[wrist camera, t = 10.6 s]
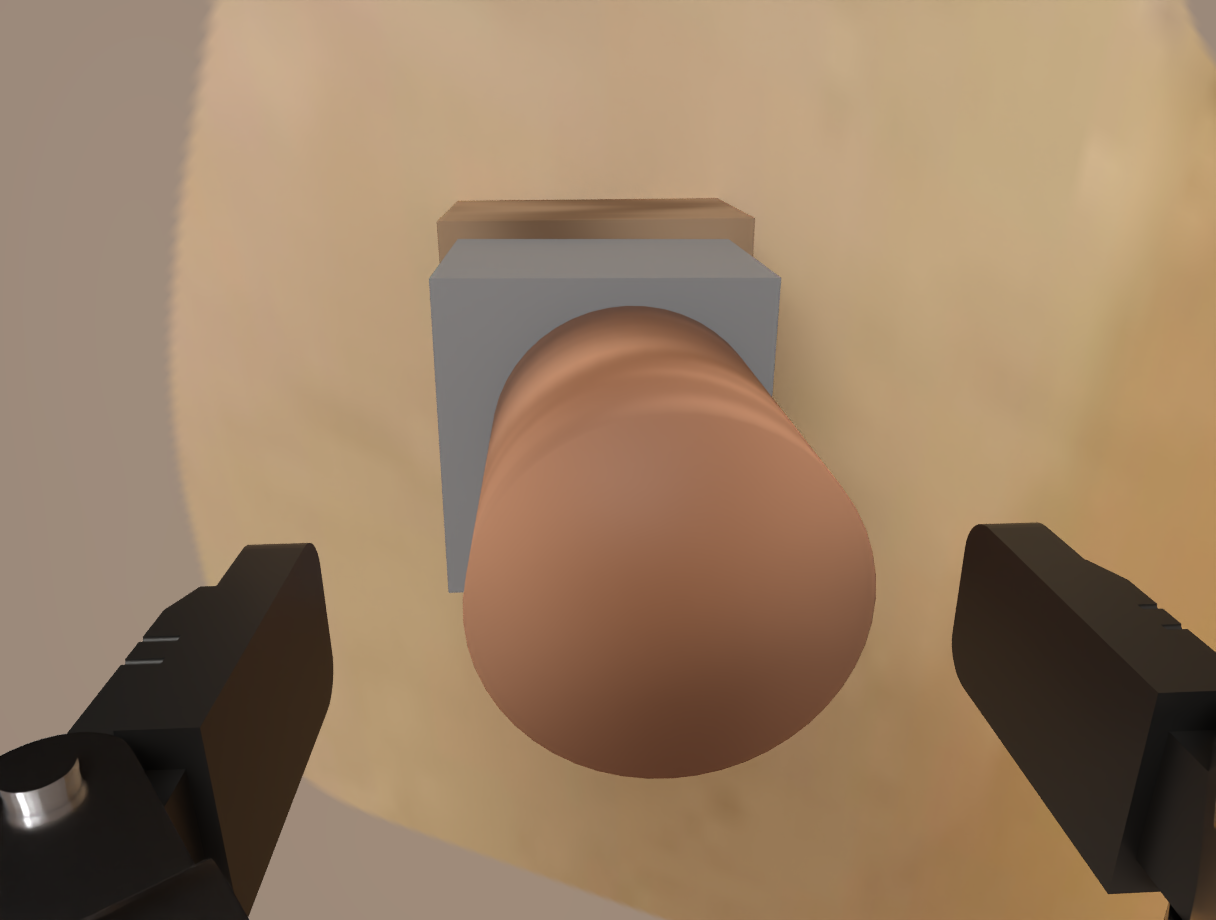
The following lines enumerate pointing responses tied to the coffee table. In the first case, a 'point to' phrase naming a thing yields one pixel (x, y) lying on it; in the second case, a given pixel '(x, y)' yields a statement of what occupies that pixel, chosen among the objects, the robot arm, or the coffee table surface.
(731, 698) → the brown rounded knob
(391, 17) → the coffee table surface
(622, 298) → the tower top
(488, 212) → the tower base
